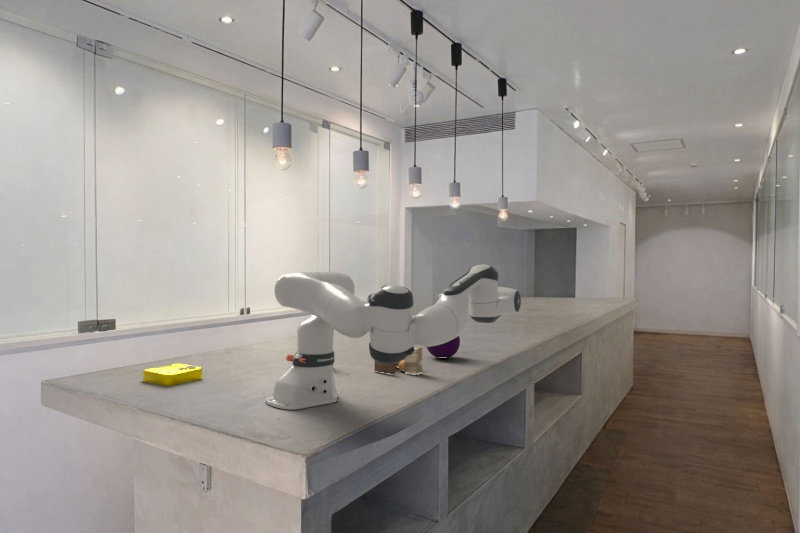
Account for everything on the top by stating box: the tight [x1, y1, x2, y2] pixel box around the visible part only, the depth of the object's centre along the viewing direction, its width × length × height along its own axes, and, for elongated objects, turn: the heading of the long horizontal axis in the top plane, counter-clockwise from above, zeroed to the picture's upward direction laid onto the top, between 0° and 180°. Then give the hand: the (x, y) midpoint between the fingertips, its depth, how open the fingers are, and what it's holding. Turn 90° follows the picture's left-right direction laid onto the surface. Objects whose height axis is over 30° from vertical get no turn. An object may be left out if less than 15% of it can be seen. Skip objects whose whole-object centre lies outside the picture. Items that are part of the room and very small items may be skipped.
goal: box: [374, 359, 405, 375], centre depth 208 cm, size 15×9×6 cm, turn 139°
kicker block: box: [404, 345, 424, 373], centre depth 202 cm, size 4×5×10 cm
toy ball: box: [426, 335, 461, 358], centre depth 234 cm, size 15×15×15 cm
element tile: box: [142, 362, 203, 387], centre depth 189 cm, size 15×15×5 cm
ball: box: [398, 360, 405, 371], centre depth 206 cm, size 4×4×4 cm
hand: (443, 296), depth 193 cm, fingers open, 8 cm apart
